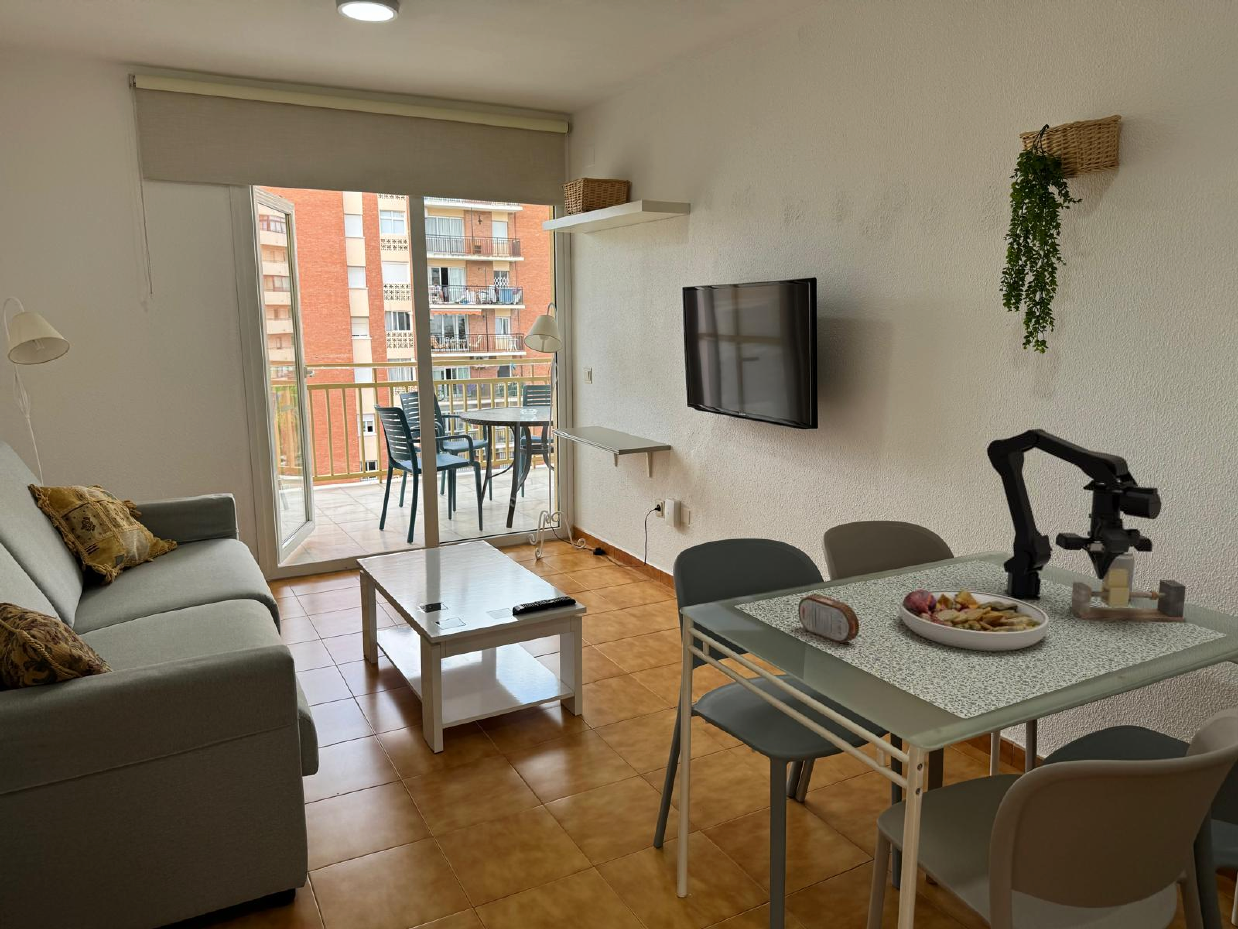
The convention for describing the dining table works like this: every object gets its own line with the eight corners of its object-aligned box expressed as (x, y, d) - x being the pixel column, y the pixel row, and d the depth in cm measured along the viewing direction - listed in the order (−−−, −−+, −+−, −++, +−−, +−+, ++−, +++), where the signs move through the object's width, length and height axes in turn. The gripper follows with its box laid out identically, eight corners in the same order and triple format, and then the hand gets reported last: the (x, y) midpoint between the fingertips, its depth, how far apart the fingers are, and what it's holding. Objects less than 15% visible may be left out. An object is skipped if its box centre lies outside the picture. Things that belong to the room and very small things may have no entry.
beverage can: (1136, 602, 209) (1140, 553, 208) (1109, 602, 210) (1113, 553, 208) (1122, 594, 216) (1126, 547, 214) (1095, 594, 216) (1099, 547, 214)
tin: (859, 645, 181) (861, 606, 180) (849, 649, 179) (850, 609, 178) (805, 626, 193) (806, 589, 192) (795, 629, 191) (796, 591, 190)
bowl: (1033, 616, 200) (1035, 582, 199) (1061, 663, 172) (1064, 625, 171) (896, 605, 208) (897, 573, 207) (901, 649, 180) (903, 612, 179)
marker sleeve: (1109, 606, 197) (1112, 572, 196) (1100, 600, 201) (1103, 567, 200) (1127, 607, 197) (1130, 572, 196) (1118, 601, 201) (1121, 567, 200)
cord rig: (1081, 619, 197) (1084, 585, 196) (1069, 609, 204) (1071, 576, 203) (1184, 622, 195) (1188, 587, 194) (1168, 612, 202) (1171, 578, 200)
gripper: (1077, 518, 189) (1071, 588, 191) (1168, 520, 187) (1161, 590, 190) (1057, 508, 200) (1052, 574, 202) (1142, 509, 198) (1137, 576, 201)
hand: (1100, 579), depth 198 cm, fingers closed
